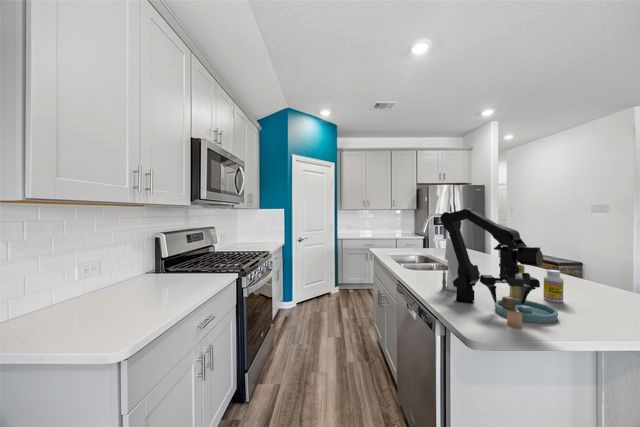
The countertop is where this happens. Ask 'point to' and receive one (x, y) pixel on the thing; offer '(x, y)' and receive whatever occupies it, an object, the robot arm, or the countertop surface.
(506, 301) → the bead walnut
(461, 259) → the robot arm
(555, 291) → the supplement bottle
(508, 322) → the bead terracotta
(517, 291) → the vase
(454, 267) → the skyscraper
